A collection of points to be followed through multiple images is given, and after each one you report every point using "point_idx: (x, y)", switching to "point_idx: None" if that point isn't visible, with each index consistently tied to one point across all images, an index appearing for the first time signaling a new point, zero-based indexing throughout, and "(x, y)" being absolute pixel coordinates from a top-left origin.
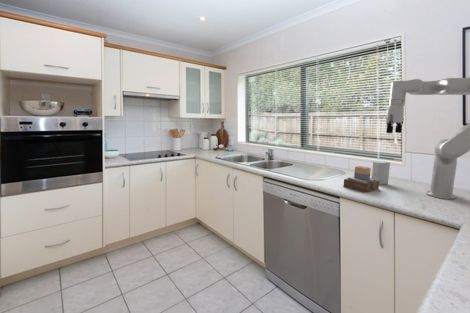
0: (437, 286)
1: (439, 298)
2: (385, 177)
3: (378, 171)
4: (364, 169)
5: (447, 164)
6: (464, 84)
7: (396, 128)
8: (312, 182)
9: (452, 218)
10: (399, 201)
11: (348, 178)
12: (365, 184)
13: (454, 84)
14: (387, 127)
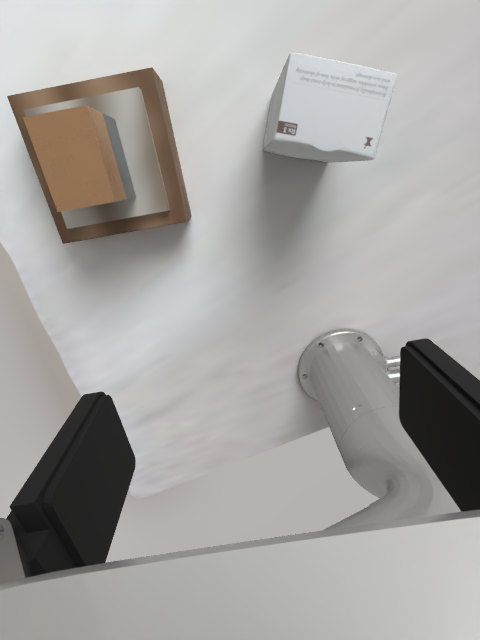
0: None
1: None
2: (315, 158)
3: (268, 141)
4: (56, 201)
5: (360, 485)
6: None
7: (449, 407)
8: None
9: (145, 477)
10: (129, 360)
11: (27, 115)
12: (63, 241)
13: None
14: (38, 483)
